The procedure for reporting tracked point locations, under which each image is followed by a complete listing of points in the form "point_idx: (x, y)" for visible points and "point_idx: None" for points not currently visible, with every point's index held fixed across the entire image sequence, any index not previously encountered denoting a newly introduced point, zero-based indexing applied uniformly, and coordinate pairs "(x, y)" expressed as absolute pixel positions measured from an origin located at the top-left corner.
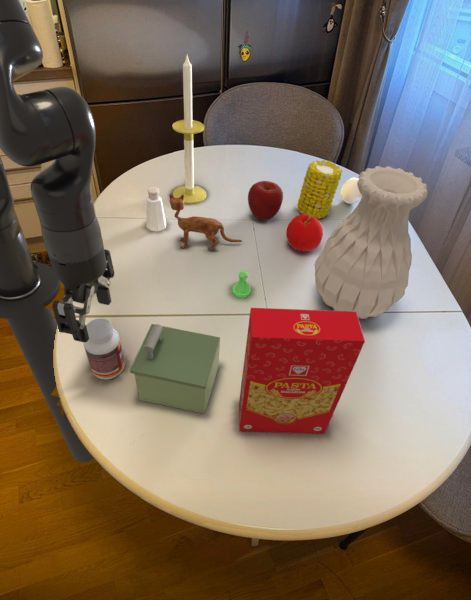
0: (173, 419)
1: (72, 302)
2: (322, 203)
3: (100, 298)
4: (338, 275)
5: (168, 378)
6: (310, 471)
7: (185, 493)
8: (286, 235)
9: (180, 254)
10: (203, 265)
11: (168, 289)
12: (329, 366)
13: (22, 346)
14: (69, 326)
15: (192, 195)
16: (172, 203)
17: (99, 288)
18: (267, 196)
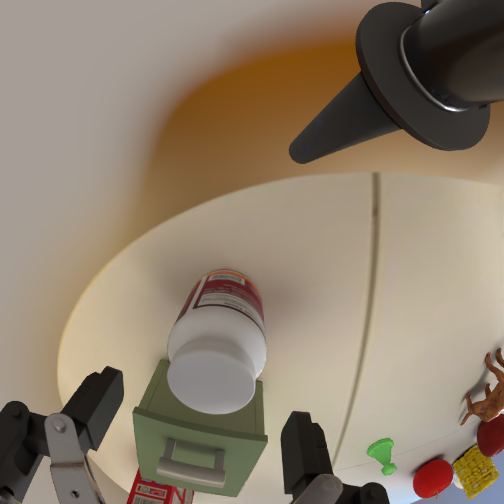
0: (140, 396)
1: (97, 497)
2: (460, 476)
3: (292, 436)
4: None
5: (137, 452)
6: (128, 470)
7: (69, 393)
8: (440, 465)
9: (477, 358)
10: (446, 395)
11: (417, 365)
12: None
13: (347, 85)
14: (23, 444)
15: None
16: None
17: (297, 482)
18: (492, 451)
